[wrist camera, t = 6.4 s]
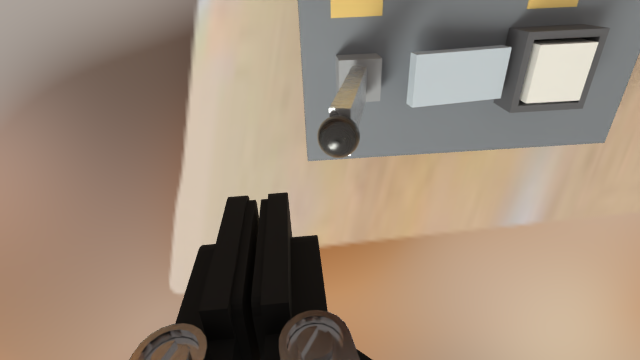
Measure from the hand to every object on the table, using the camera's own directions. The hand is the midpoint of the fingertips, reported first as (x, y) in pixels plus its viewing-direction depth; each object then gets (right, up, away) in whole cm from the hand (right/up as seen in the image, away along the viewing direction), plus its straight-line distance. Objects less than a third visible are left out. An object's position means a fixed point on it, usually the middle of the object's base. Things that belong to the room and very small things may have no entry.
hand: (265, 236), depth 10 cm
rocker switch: (+11, +9, +15) cm, 21 cm away
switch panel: (+13, +12, +19) cm, 26 cm away
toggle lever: (+4, +9, +15) cm, 18 cm away
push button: (+18, +10, +17) cm, 27 cm away
